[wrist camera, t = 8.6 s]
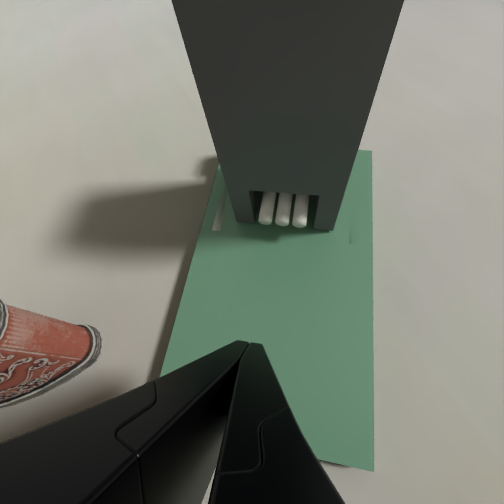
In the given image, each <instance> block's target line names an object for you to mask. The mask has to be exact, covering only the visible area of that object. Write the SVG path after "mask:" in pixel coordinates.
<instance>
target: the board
mask: <svg viewBox="0 0 504 504" xmlns="http://www.w3.org/2000/svg"><path fill="white" fill-rule="evenodd" d="M263 192H264V191H261V192H260V198H259V203H258V208H257V213H256V219H255V224H254V223H243V222H237V221H236V218H235V214H234V211H233V207H232V204H231V201H230V197H229V194H228V190H227V187H226V184H225V180H224V177H223V173H222V170H221V167H220V163H219V165H218V168H217V172H216V176H215V179H214V183H213V186H212V190H211V194H210V197H209V201H208V204H207V208H206V211H205V215H204V219H203V222H202V226H201V229H200V233H199V237H198V240H197V244H196V247H195V251H194V255H193V258H192V262H191V265H190V269H189V273H188V276H187V280H186V283H185V287H184V291H183V294H182V298H181V301H180V305H179V309H178V312H177V316H176V319H175V323H174V327H173V330H172V334H171V337H170V341H169V345H168V348H167V352H166V355H165V359H164V363H163V366H162V370H161V373H160V377H162V376H164V375H166V374H168V373H170V372H172V371H174V370H176V369H178V368H180V367H182V366H184V365H186V364H188V363H190V362H193V361H195V360H197V359H199V358H201V357H203V356H205V355H207V354H209V353H211V352H213V351H215V350H217V349H219V348H221V347H224V346H226V345H228V344H230V343H232V342H234V341H236V340H242V341H247V342H249V343H251V342H254V343H260V344H262V345H263V346H264V349H265V351H266V353H267V355H268V358H269V360H270V362H271V365H272V367H273V369H274V372H275V374H276V376H277V378H278V381H279V383H280V385H281V388H282V390H283V392H284V395H285V397H286V399H287V401H288V404H289V406H290V408H291V410H292V412H293V414H294V417H295V419H296V421H297V423H298V425H299V427H300V429H301V431H302V433H303V435H304V437H305V439H306V440H307V442H308V444H309V445H310V447H311V449H312V451H313V452H314V454H315V456H316V457H317V459H319V460H323V461H328V462H332V463H337V464H341V465H346V466H350V467H355V468H359V469H364V470H368V471H373V472H374V385H373V242H372V151H365V150H358V151H357V155H356V158H355V161H354V164H353V168H352V171H351V174H350V177H349V181H348V184H347V187H346V190H345V194H344V197H343V200H342V203H341V207H340V210H339V213H338V216H337V220H336V223H335V226H334V229H333V231H330V230H319V229H314V219H315V208H316V196H317V195H309V203H308V213H307V222H306V226H305V227H303V228H298V227H295V226H293V225H292V222H293V214H294V206H295V198H296V194H293V195H292V203H291V210H290V218H289V224H288V225H287V226H279V225H277V224H276V223H275V219H276V213H277V206H278V200H279V194H280V193H278V192H277V193H276V199H275V205H274V211H273V217H272V223H271V224H268V225H264V224H261V223H260V222H259V221H258V219H259V213H260V208H261V203H262V197H263Z"/></svg>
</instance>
